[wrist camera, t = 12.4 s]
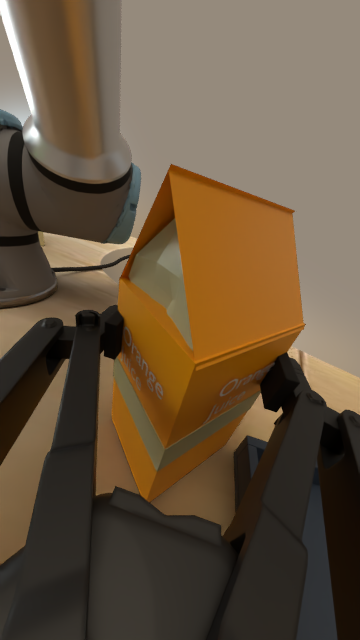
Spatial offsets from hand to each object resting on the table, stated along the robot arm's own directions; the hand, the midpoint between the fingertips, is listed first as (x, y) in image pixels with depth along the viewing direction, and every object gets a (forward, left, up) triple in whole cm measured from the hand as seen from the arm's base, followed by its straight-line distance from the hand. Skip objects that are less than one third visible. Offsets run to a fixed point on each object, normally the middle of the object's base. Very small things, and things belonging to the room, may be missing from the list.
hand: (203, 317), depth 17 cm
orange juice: (+4, 0, -11) cm, 12 cm away
